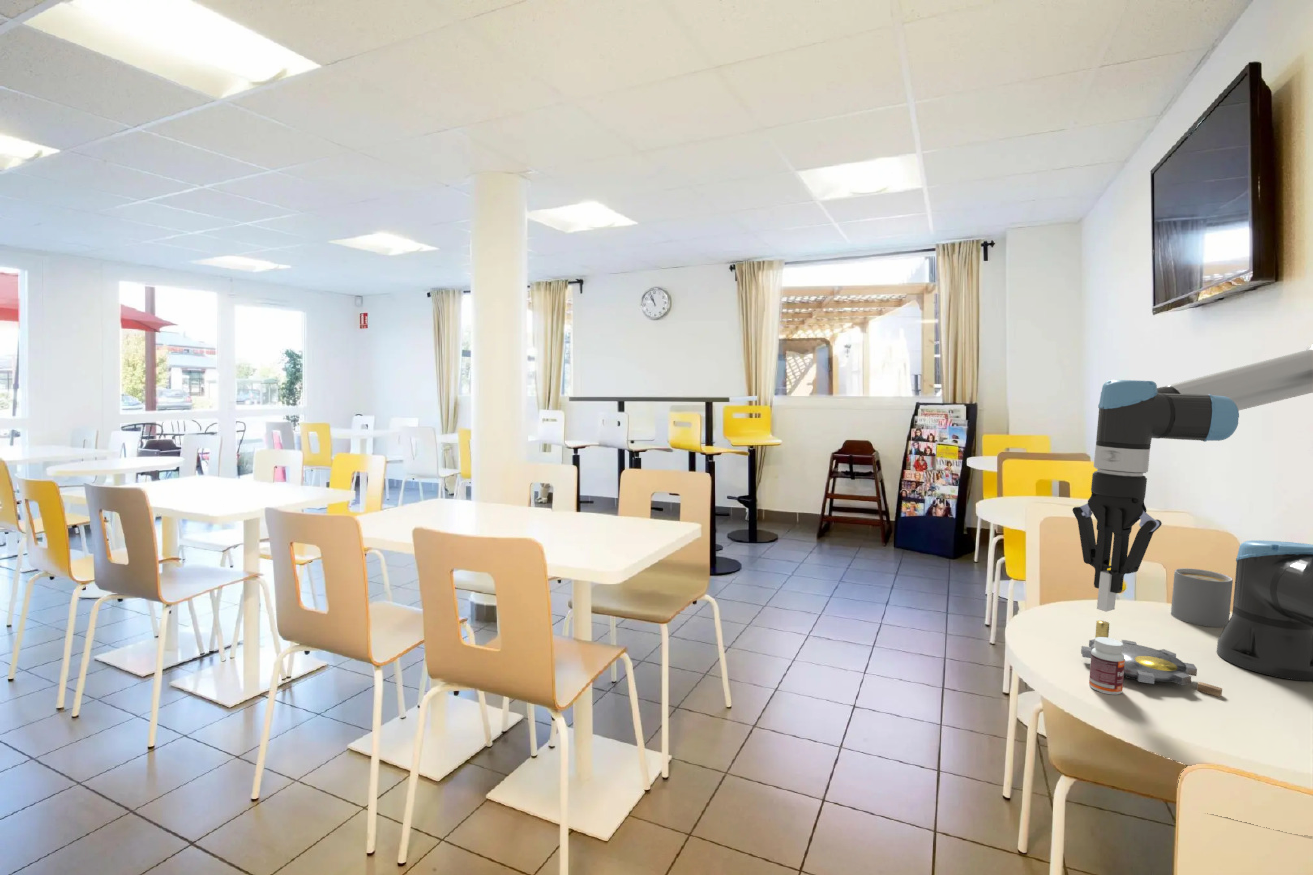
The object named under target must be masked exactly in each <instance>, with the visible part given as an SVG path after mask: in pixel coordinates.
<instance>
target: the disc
mask: <svg viewBox="0 0 1313 875" xmlns="http://www.w3.org/2000/svg"><path fill="white" fill-rule="evenodd" d="M1095 623H1096V624H1095V634H1094V639H1089V641H1088V642H1089V643H1088V646H1084V645H1082V646H1081V650H1080V653H1081V657H1082V658H1085V659H1086V658H1087V659H1091V651H1092V649H1093V648H1095V647H1094V643H1095V638H1097V637H1107V638H1109V633H1110V632H1109V631H1110V623H1109V621H1104V620H1096V622H1095ZM1121 642H1122V643H1123V652H1122V654H1123V655H1124V657H1125V665H1124V675H1127V676H1131V677H1135V678H1137V680H1136V681H1137V682H1139V683H1140V682H1141V683H1145V684H1146V683H1147V684H1152V685H1155V682H1154V681H1162V682H1166V683H1167V682H1169V683H1170V682H1172V683H1175V684H1178V685H1180V686H1185V685H1189V684H1190V685H1191V684H1192V683H1191V682H1192V676H1193V677H1197V674H1198V668H1197V667H1196V666H1195V664H1194V663H1188V662H1183V661H1182V660H1181V659H1179V658H1178V657H1177V653H1175V652H1172V651H1170V650H1167V649H1164V648H1163V649H1156V648H1152V647H1148V646H1145V645H1140V644H1137V642H1136V641H1131V640H1126V639H1121ZM1162 682H1161V683H1162Z"/></svg>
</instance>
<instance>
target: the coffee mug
mask: <svg viewBox="0 0 1313 875" xmlns="http://www.w3.org/2000/svg"><path fill="white" fill-rule="evenodd" d="M1173 575H1174V576H1173V583H1172V584H1173V585H1172V586H1173V587H1172V596H1171V597H1172V598H1171V607H1170V608H1171V609H1170V615H1171V616H1172V617H1173V618H1175V619H1177V620H1180V621H1183V622H1186V623H1189V624H1191V625H1192V624H1193V625H1198V626H1202V627H1203V626H1204V627H1210V628H1225V627H1226V625H1227V623H1228V622H1229V620H1230V616H1231V614H1230V612H1231V604H1232V603H1231V601H1232V593H1233V584H1234V582H1233V578H1232V577H1231V576H1229V575H1226V574H1223V573H1222V572H1220V573H1219V572H1216V571H1212V570H1207V569H1206V570H1205V569H1199V568H1188V567H1187V568H1185V567H1184V568H1183V567H1182V568H1176V569H1175V570H1174V573H1173Z"/></svg>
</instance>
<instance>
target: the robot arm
mask: <svg viewBox="0 0 1313 875" xmlns="http://www.w3.org/2000/svg"><path fill="white" fill-rule="evenodd" d="M1309 394H1313V343H1311V344H1310V345H1309V346H1308V347H1307V348H1306V349H1305V350H1303V351H1298V352H1294V353H1290V354H1286V355H1283V356H1282V355H1281V356H1278V357H1274V358H1271V359H1265V360H1263V361H1259V362H1255V363H1250V364H1247V365H1243V366H1240V367H1235V368H1231V369H1227V370H1223V371H1219V372H1216V373H1212V374H1209V375H1203V376H1199V377H1196V378H1191V379H1188V380H1184V381H1183V380H1182V381H1180V382H1176V383H1171V384H1168V385H1165V386H1160V387H1158V385H1157V383H1156V382H1155V381H1153V380H1135V379H1134V380H1131V379H1110V380H1107V381H1105V382H1104V383H1103V385H1102V387H1101V392H1100V397H1099V403H1098V406H1097V407H1098V415H1097V417H1098V418H1097V426H1096V427H1097V428H1096V439H1095V440H1096V441H1095V448H1094V457H1093V468H1095V469H1096V471H1094V472H1092V476H1091V485H1090V491H1091V494H1090V497H1089V498H1088V500H1087V503H1086V504H1083V505H1081V506H1074V507H1073V508H1072V513H1073V515H1074V517H1075V519H1076V521H1077V525H1078V533H1079V538H1080V546H1081V551H1082V552H1081V553H1082V559H1083V563H1085V564H1087V565H1090V566H1091V567H1093V568H1094V578H1093V587H1094V588H1095V589H1098V593H1097V602H1096V604H1097V605H1096V610H1099V611H1101V612H1102V611H1103V612H1109V611H1113V610H1115V609H1116V608H1115V606H1116V601H1117V600H1116V598H1117V594H1120V593H1121V592H1122V591H1123V585H1124V577H1125V575H1129V574H1133V573H1137V572H1138V571H1139V569H1140V566H1141V565H1142V561H1143V559H1144V556H1145V554H1146V553H1147V552H1146V551H1147V549H1148V546H1149V544H1150V542H1151V540H1152V537H1153V535H1154V533H1155V532H1156V531H1158V529H1159V528H1160V527H1161V526H1162V524H1163V523H1162V521H1161V520H1160V519H1155V518H1153V517H1152V516H1151V515H1150V514H1148V513H1147V507H1146V505H1145V498H1146V493H1147V492H1146V490H1147V481H1148V478H1147V477H1146V476H1145V475H1144V474H1147V473H1148V472H1149V466H1150V464H1149V463H1150V451H1151V444H1152V439H1169V440H1179V441H1180V440H1184V441H1185V440H1187V441H1201V442H1205V443H1206V442H1208V441H1209V442H1210V441H1211V442H1213V441H1218V442H1219V441H1224V440H1226V439H1228V438H1230V437H1231V436H1232V435H1233V434H1234V433H1235V432H1236V430H1237V427H1238V425H1239V418H1240V412H1239V411H1243V410H1247V409H1250V408H1251V409H1252V408H1255V407H1258V406H1264V405H1267V404H1271V403H1274V402H1275V403H1276V402H1279V401H1283V400H1288V399H1292V398H1296V397H1301V396H1305V395H1309ZM1092 515H1093V516H1094V518H1095V519H1096V530H1097V535H1095V529H1094V522H1093V518H1092ZM1139 520H1140V522H1139ZM1137 522H1139V524H1138V525H1139V527H1140V528H1139V529H1138V531H1137V533H1136V535H1135V537H1134V539H1133V540H1134V541H1133V542H1132V545H1131V548H1130V550H1129V545H1130V544H1129V542H1130V535H1131V533H1132V529H1133V526H1135V524H1136V523H1137ZM1112 542H1113V543H1112ZM1128 551H1129V552H1128ZM1110 560H1111V562H1110ZM1235 562H1236V563H1235V564H1236V566H1235V567H1236V568H1235V578H1234V590H1233V604H1232V613H1231V615H1230V617H1229V622H1228V623H1227V625H1226V626H1225V627H1224V628H1223V630H1222V631H1221V634H1220V635H1219V638H1218V639H1217V644H1216V653H1217V655H1218V656H1219V657H1221V659H1223V660H1224V661H1227V662H1228V663H1231V664H1232V665H1234V666H1238V667H1240V668H1242V669H1245V670H1248V671H1252V672H1255V673H1259V674H1263V675H1267V676H1270V677H1275V678H1281V679H1286V680H1287V679H1288V680H1295V681H1306V682H1309V681H1310V682H1311V681H1312V682H1313V544H1311V543H1304V542H1303V543H1301V542H1293V541H1292V542H1291V541H1278V540H1255V539H1254V540H1246V541H1243V542H1242V543H1241V544H1240V545H1239V547H1238V551H1237V556H1236V558H1235Z"/></svg>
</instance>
